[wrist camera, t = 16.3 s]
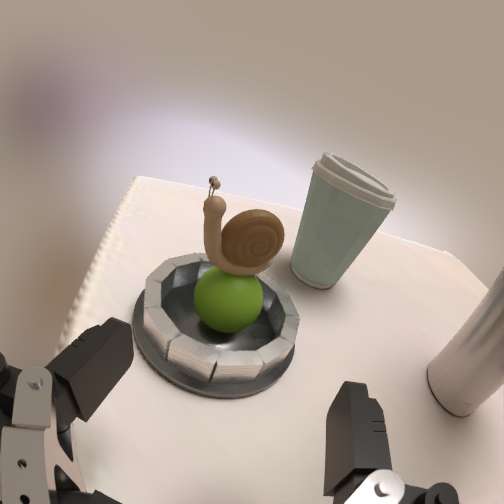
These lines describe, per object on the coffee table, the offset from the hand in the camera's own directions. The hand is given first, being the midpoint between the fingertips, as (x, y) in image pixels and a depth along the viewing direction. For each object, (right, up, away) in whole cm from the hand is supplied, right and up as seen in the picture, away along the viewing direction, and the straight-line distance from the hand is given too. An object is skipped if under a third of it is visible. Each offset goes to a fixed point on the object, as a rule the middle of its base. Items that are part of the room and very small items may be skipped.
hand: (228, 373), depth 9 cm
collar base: (-2, -2, +14) cm, 15 cm away
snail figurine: (-2, -2, +14) cm, 14 cm away
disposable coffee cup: (+9, +1, +27) cm, 28 cm away
